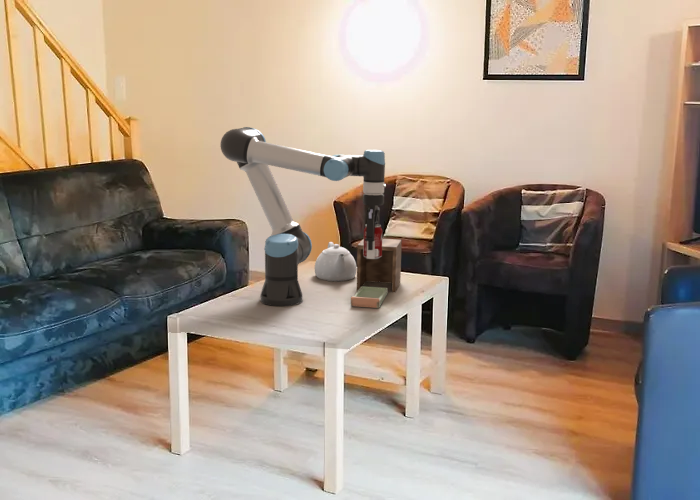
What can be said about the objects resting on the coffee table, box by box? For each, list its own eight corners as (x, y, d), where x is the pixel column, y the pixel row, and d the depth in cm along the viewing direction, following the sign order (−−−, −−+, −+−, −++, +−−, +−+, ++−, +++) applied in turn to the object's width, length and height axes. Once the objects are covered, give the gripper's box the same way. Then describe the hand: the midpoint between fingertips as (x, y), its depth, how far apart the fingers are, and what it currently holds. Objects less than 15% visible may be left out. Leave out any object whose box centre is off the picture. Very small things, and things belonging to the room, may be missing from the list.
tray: (350, 305, 277) (351, 297, 276) (361, 291, 296) (361, 283, 295) (378, 307, 275) (379, 299, 274) (387, 293, 294) (387, 285, 293)
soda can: (380, 260, 282) (380, 227, 279) (361, 259, 283) (362, 226, 280) (383, 256, 288) (383, 224, 286) (365, 255, 289) (365, 223, 287)
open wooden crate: (356, 289, 300) (357, 244, 296) (363, 280, 314) (364, 237, 310) (395, 292, 297) (396, 247, 293) (400, 283, 311) (401, 239, 308)
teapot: (366, 275, 323) (367, 243, 320) (342, 284, 308) (342, 250, 305) (328, 269, 333) (329, 237, 330) (303, 277, 317) (303, 244, 315)
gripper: (379, 197, 270) (378, 262, 275) (388, 190, 289) (386, 251, 294) (358, 196, 272) (357, 261, 277) (368, 189, 291) (366, 250, 296)
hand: (372, 256), depth 285 cm, fingers closed on soda can, 7 cm apart
